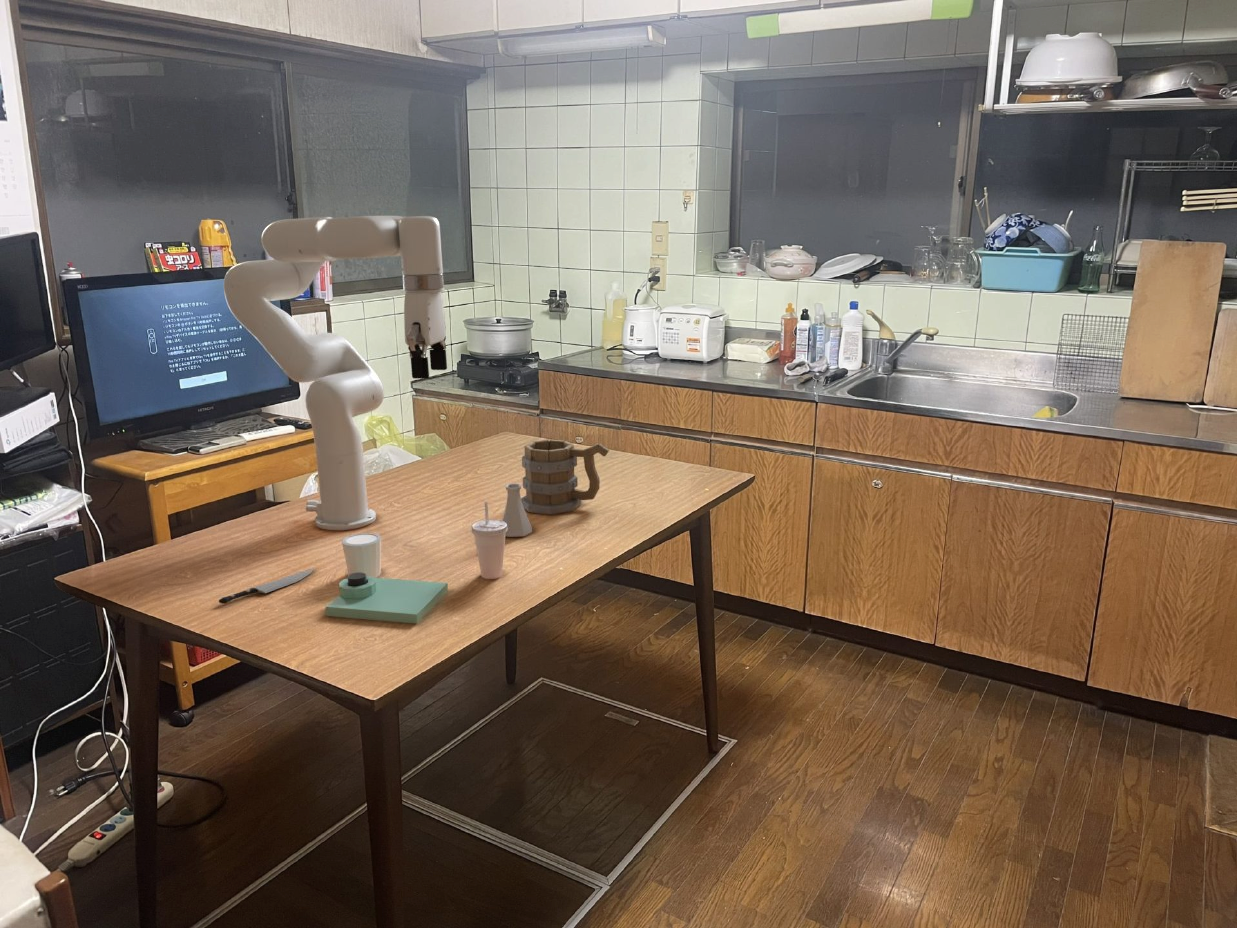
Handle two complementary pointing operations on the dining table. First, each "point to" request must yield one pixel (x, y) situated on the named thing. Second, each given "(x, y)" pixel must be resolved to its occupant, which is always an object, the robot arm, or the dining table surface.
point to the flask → (515, 513)
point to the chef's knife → (268, 586)
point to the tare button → (357, 579)
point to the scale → (387, 599)
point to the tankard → (557, 476)
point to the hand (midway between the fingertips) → (430, 373)
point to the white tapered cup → (363, 554)
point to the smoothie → (490, 545)
